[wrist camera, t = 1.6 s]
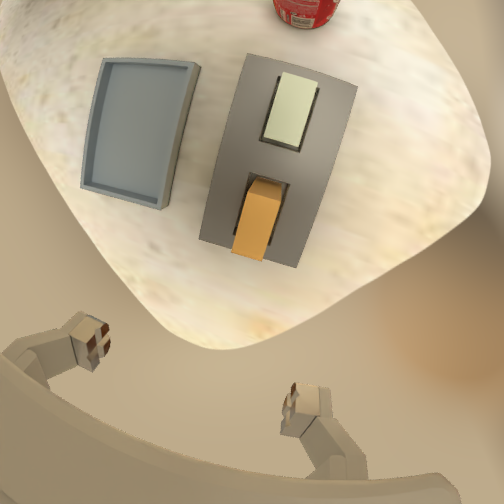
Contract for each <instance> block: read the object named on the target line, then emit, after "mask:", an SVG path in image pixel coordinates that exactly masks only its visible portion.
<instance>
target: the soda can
mask: <svg viewBox="0 0 504 504" xmlns="http://www.w3.org/2000/svg"><path fill="white" fill-rule="evenodd" d="M339 2H340V0H273V3H274V6H275V9H276V12H277V13H278V15H279V16H280V18H282V19H283V20H284V21H285V22H287V23H288V24H290V25H293V26H295V27H299V28H316V27H319V26H322V25H324V24H325V23H326V22H328V21H329V19H330V18H331V17H332V16H333V14H334V12H335V10H336V8H337V6H338V4H339Z"/></svg>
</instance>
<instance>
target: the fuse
mask: <svg viewBox="0 0 504 504" xmlns="http://www.w3.org/2000/svg"><path fill="white" fill-rule="evenodd" d="M317 84H318V82H316V81H313V80H310V79H306V78H303V77H300V76H296V75H293V74H289V73H286V72H283V73H282V77H281V80H280V83H279V86H278V90H277V93H276V96H275V100H274V103H273V106H272V110H271V113H270V116H269V120H268V123H267V126H266V130H265V133H264V137H267V138H270V139H274V140H277V141H280V142H284V143H287V144H290V145H294V146H297V147H298V146H299V143H300V140H301V137H302V134H303V130H304V127H305V124H306V121H307V117H308V114H309V111H310V108H311V104H312V101H313V98H314V94H315V91H316V88H317Z"/></svg>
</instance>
